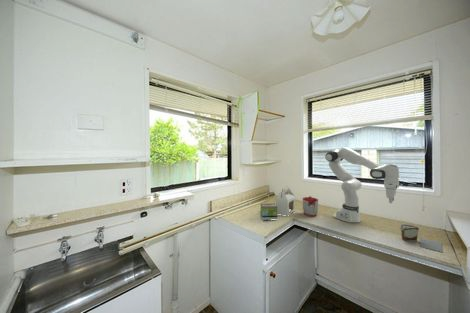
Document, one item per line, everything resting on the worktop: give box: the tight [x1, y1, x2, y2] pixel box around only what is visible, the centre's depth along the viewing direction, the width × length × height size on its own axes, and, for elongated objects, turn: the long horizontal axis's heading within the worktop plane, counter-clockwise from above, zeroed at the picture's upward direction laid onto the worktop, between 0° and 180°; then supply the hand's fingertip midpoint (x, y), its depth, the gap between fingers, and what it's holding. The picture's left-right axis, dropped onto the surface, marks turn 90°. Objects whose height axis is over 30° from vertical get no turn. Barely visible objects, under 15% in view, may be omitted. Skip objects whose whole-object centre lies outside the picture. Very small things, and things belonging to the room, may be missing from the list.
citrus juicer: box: [301, 195, 319, 217], centre depth 180 cm, size 16×17×20 cm
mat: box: [419, 237, 443, 253], centre depth 120 cm, size 10×16×1 cm, turn 131°
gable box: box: [275, 186, 296, 217], centre depth 188 cm, size 22×13×28 cm, turn 143°
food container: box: [399, 224, 420, 242], centre depth 129 cm, size 12×6×10 cm, turn 92°
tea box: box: [260, 202, 278, 221], centre depth 172 cm, size 15×10×15 cm, turn 91°
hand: (391, 201), depth 136 cm, fingers open, 8 cm apart
